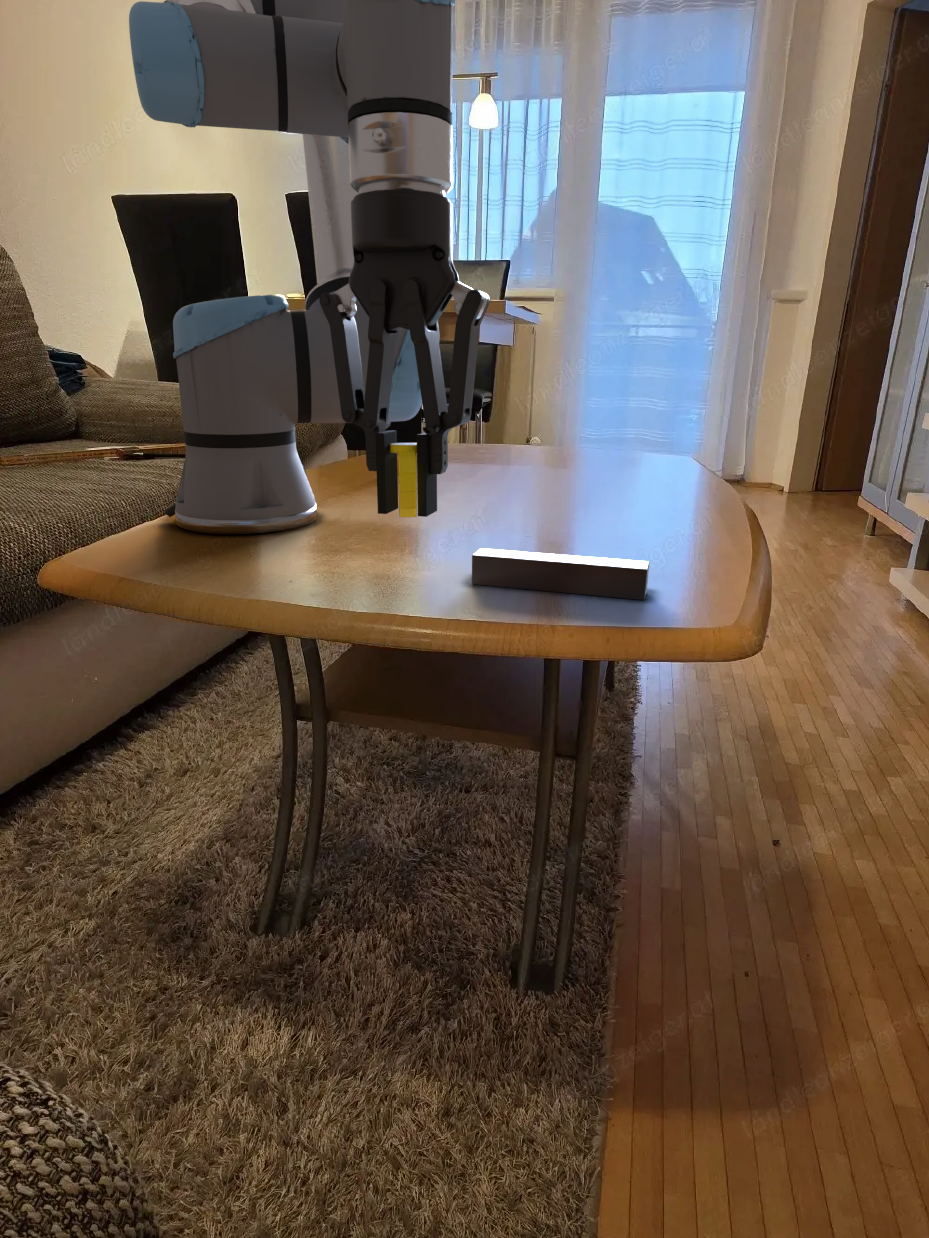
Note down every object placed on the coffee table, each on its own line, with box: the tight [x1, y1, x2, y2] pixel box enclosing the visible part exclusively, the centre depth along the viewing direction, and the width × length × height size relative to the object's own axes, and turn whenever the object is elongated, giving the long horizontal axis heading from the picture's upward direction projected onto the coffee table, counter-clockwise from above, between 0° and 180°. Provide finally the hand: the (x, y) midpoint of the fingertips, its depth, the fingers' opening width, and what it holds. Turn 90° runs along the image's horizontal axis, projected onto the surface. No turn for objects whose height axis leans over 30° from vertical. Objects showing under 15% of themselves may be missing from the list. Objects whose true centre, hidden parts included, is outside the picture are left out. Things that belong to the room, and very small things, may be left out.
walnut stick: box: [471, 547, 650, 601], centre depth 61 cm, size 14×2×2 cm, turn 73°
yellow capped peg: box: [390, 442, 418, 518], centre depth 62 cm, size 6×3×6 cm, turn 5°
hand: (407, 511), depth 63 cm, fingers closed on yellow capped peg, 3 cm apart
